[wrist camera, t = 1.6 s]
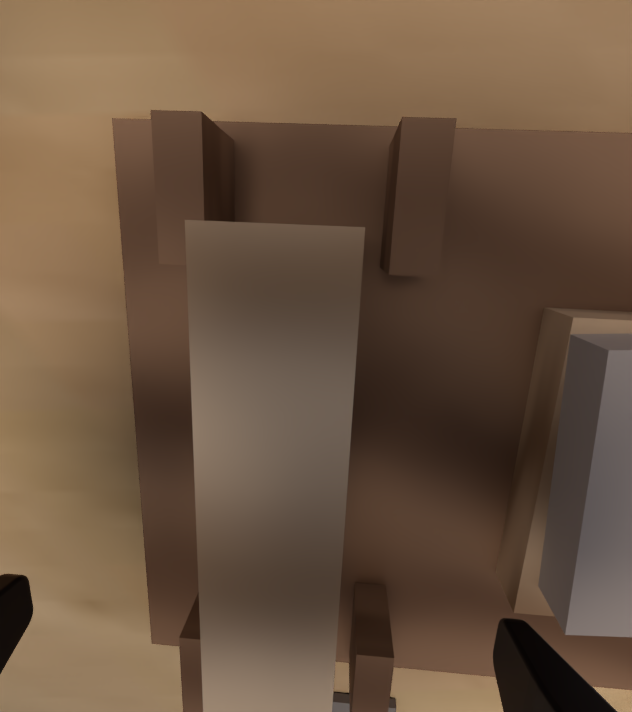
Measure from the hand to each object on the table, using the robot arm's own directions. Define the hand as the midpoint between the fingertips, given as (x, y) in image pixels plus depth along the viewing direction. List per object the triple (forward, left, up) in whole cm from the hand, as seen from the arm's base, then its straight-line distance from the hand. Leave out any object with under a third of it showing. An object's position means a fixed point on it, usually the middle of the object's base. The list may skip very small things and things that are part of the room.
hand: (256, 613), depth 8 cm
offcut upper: (+1, -10, -6) cm, 12 cm away
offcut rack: (0, 0, -8) cm, 8 cm away
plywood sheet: (0, 0, -7) cm, 7 cm away
